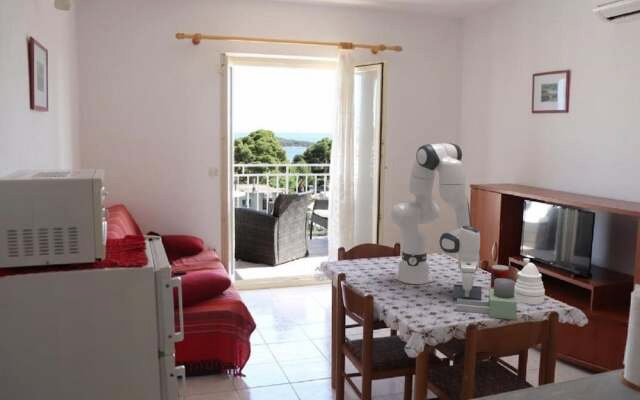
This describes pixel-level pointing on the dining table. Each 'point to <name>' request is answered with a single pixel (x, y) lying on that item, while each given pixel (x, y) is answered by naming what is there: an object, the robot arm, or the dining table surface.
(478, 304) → the green base with cylinder
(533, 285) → the honey pot
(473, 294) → the chute
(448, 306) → the dining table surface
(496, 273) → the canned food
